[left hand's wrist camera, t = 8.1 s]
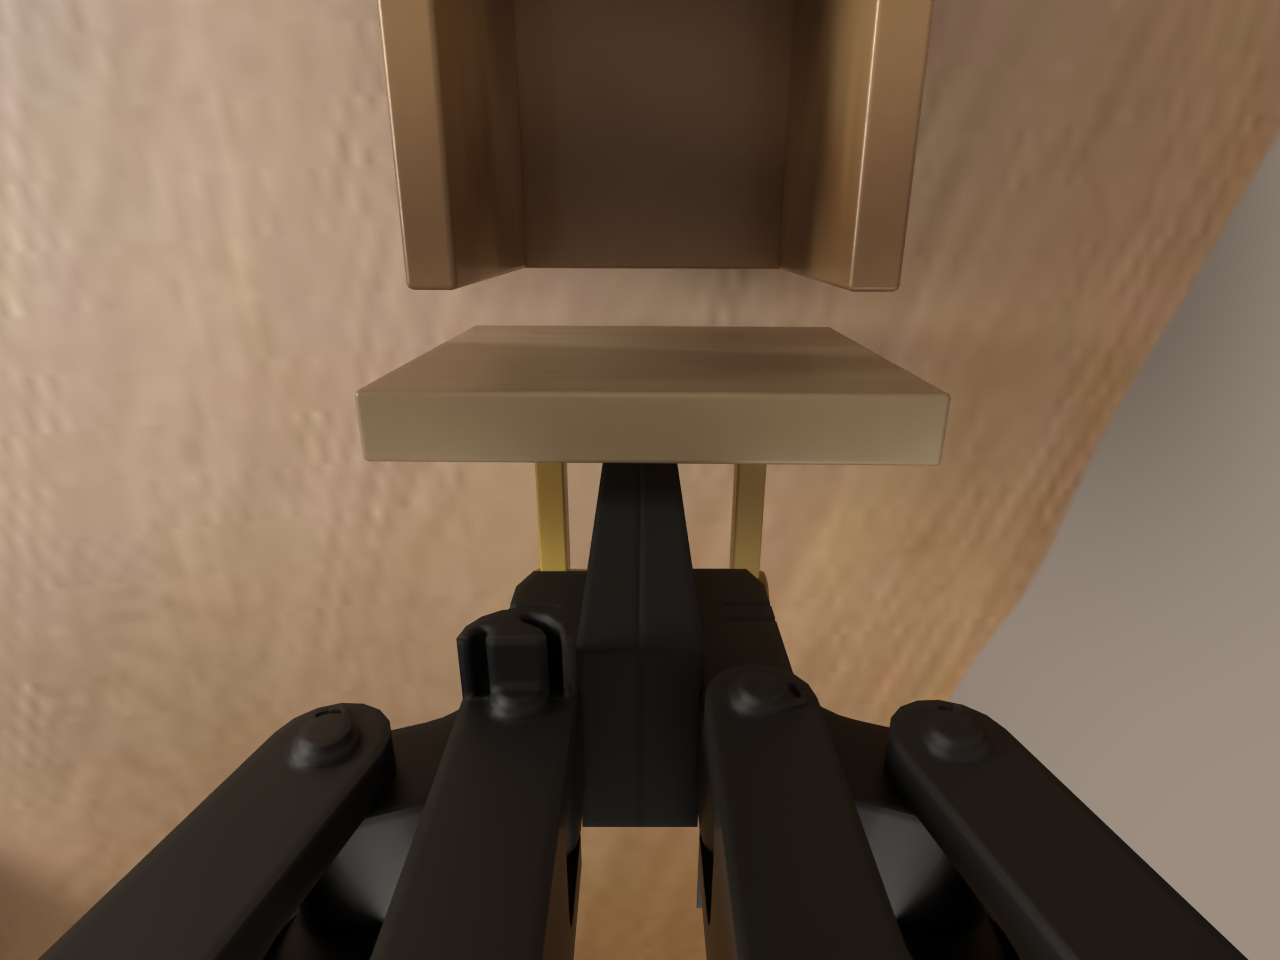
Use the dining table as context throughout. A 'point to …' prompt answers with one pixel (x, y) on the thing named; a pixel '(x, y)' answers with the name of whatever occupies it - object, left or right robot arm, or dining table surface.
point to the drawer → (654, 232)
